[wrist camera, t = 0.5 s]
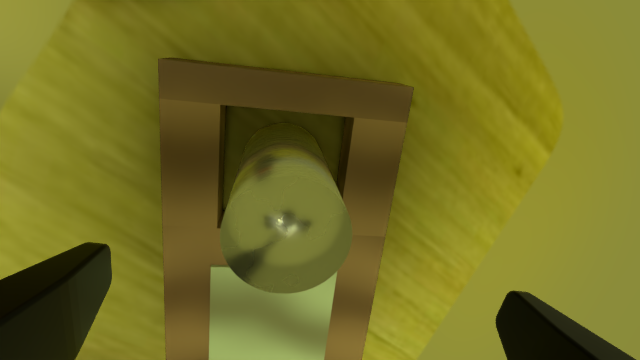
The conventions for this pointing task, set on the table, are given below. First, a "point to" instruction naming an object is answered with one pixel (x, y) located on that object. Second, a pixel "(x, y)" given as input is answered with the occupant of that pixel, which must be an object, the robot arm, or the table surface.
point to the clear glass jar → (284, 214)
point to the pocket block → (207, 212)
